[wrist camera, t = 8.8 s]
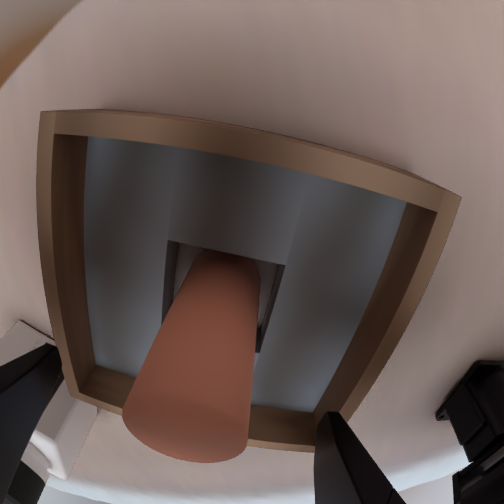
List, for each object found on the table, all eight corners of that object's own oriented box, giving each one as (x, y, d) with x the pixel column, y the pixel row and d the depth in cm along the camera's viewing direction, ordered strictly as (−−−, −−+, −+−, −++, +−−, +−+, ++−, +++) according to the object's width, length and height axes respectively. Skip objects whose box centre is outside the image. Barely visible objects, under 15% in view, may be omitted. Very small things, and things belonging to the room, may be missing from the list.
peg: (267, 256, 15) (260, 412, 7) (252, 316, 16) (235, 470, 8) (194, 240, 15) (115, 377, 7) (186, 302, 16) (127, 444, 8)
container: (18, 317, 18) (-77, 432, 6) (101, 362, 19) (21, 514, 7) (28, 376, 21) (-36, 476, 9) (98, 414, 22) (46, 532, 10)
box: (411, 172, 13) (461, 196, 9) (317, 397, 19) (323, 453, 15) (99, 109, 12) (40, 111, 8) (99, 349, 18) (70, 395, 14)
